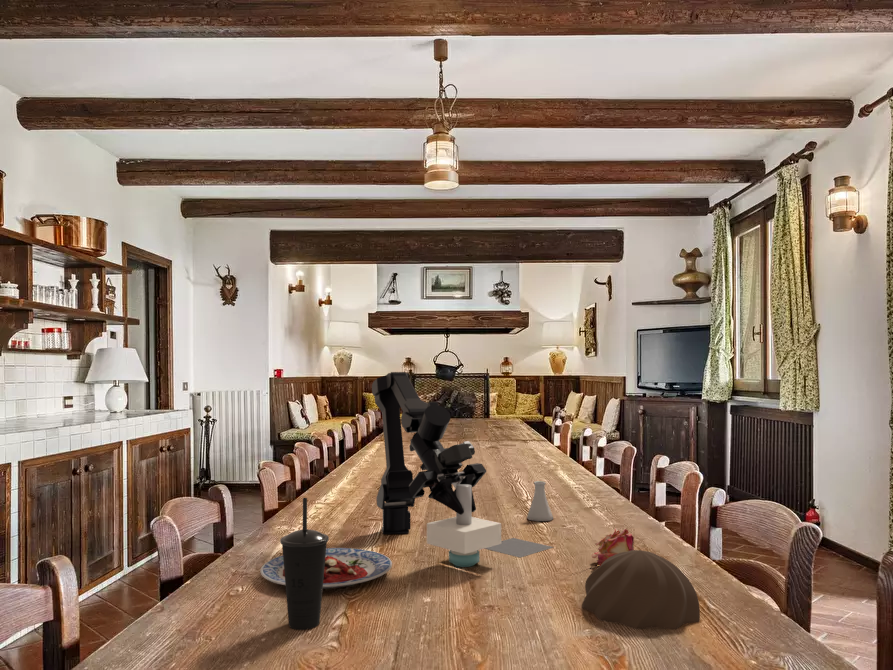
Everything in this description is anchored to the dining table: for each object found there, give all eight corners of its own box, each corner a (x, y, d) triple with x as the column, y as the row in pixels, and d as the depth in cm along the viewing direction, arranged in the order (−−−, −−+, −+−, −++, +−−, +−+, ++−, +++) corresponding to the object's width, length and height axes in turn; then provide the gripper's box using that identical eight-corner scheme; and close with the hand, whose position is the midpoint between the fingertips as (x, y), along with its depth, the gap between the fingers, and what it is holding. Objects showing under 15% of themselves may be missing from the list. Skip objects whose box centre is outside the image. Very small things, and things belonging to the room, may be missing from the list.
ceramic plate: (278, 607, 118) (278, 589, 118) (248, 568, 140) (248, 553, 141) (413, 584, 129) (413, 568, 130) (365, 552, 152) (365, 539, 152)
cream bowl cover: (426, 543, 141) (426, 485, 142) (463, 534, 149) (463, 479, 150) (464, 553, 134) (464, 492, 134) (501, 543, 141) (501, 485, 142)
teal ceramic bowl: (451, 570, 137) (451, 556, 138) (446, 561, 144) (446, 548, 144) (482, 569, 138) (482, 555, 138) (476, 560, 145) (476, 547, 145)
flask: (552, 522, 180) (552, 484, 181) (525, 521, 182) (525, 483, 182) (554, 516, 187) (553, 480, 188) (527, 515, 189) (527, 479, 189)
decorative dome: (717, 633, 105) (716, 567, 106) (588, 628, 107) (587, 564, 108) (685, 592, 124) (684, 537, 125) (576, 589, 126) (575, 535, 127)
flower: (648, 556, 141) (626, 522, 144) (646, 558, 133) (622, 522, 136) (609, 580, 142) (587, 546, 146) (604, 584, 134) (582, 548, 137)
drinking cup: (283, 616, 112) (284, 494, 113) (330, 614, 113) (330, 493, 114) (275, 634, 105) (277, 503, 106) (325, 632, 105) (326, 502, 106)
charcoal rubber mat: (479, 548, 154) (479, 547, 154) (513, 539, 162) (513, 537, 162) (520, 559, 145) (520, 557, 145) (553, 548, 154) (553, 547, 154)
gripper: (418, 432, 139) (456, 494, 130) (480, 426, 152) (518, 482, 143) (393, 467, 144) (428, 528, 136) (455, 458, 157) (490, 514, 149)
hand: (468, 512), depth 141 cm, fingers closed on cream bowl cover, 3 cm apart
